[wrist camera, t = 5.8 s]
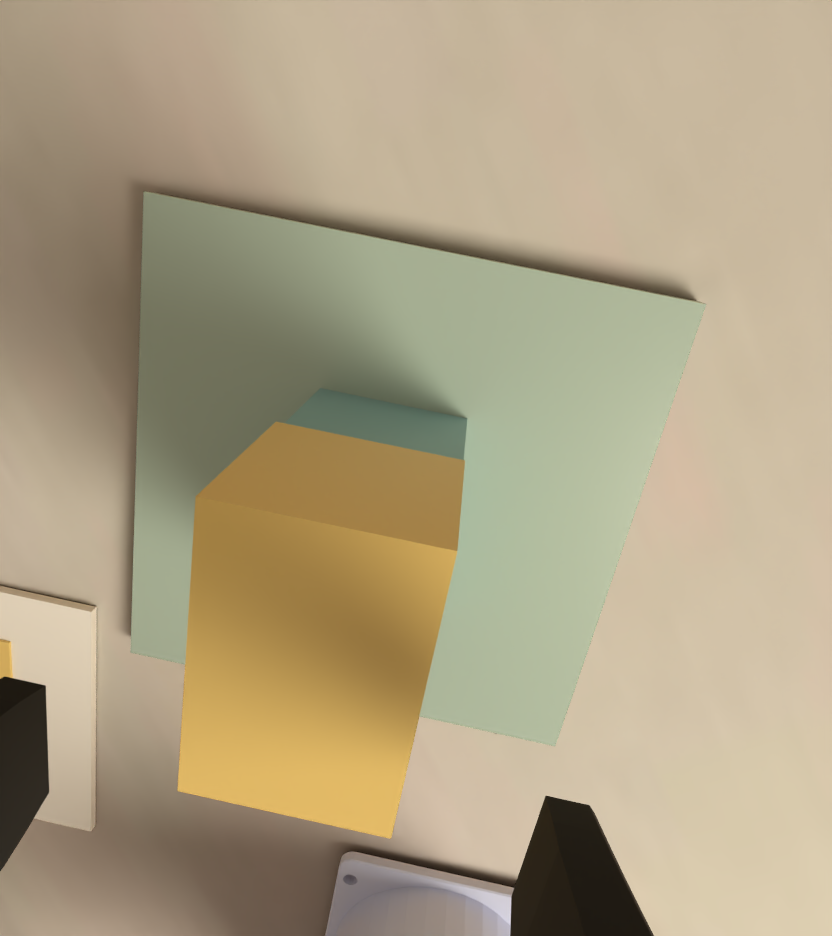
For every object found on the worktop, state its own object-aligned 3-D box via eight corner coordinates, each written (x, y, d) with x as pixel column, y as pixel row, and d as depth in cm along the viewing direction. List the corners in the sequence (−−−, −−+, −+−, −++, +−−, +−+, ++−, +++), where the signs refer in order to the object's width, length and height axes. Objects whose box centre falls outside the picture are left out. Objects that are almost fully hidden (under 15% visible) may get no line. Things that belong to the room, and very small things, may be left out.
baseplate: (553, 732, 21) (555, 746, 21) (139, 641, 22) (130, 652, 21) (698, 301, 16) (706, 303, 16) (154, 192, 16) (143, 191, 16)
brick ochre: (413, 690, 15) (391, 838, 12) (250, 655, 16) (177, 790, 12) (465, 460, 13) (457, 551, 10) (276, 421, 13) (195, 496, 10)
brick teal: (425, 608, 19) (410, 699, 16) (294, 579, 19) (249, 663, 16) (467, 418, 17) (462, 471, 13) (320, 388, 17) (274, 432, 13)
